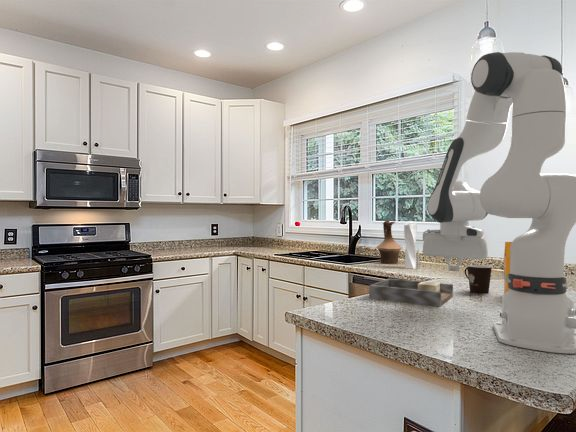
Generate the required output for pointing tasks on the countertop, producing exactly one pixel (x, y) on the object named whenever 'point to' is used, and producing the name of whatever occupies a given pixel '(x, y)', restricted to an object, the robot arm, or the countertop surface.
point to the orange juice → (506, 265)
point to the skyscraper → (411, 246)
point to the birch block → (429, 286)
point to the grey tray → (410, 292)
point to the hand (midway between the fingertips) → (453, 270)
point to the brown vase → (389, 246)
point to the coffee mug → (479, 278)
